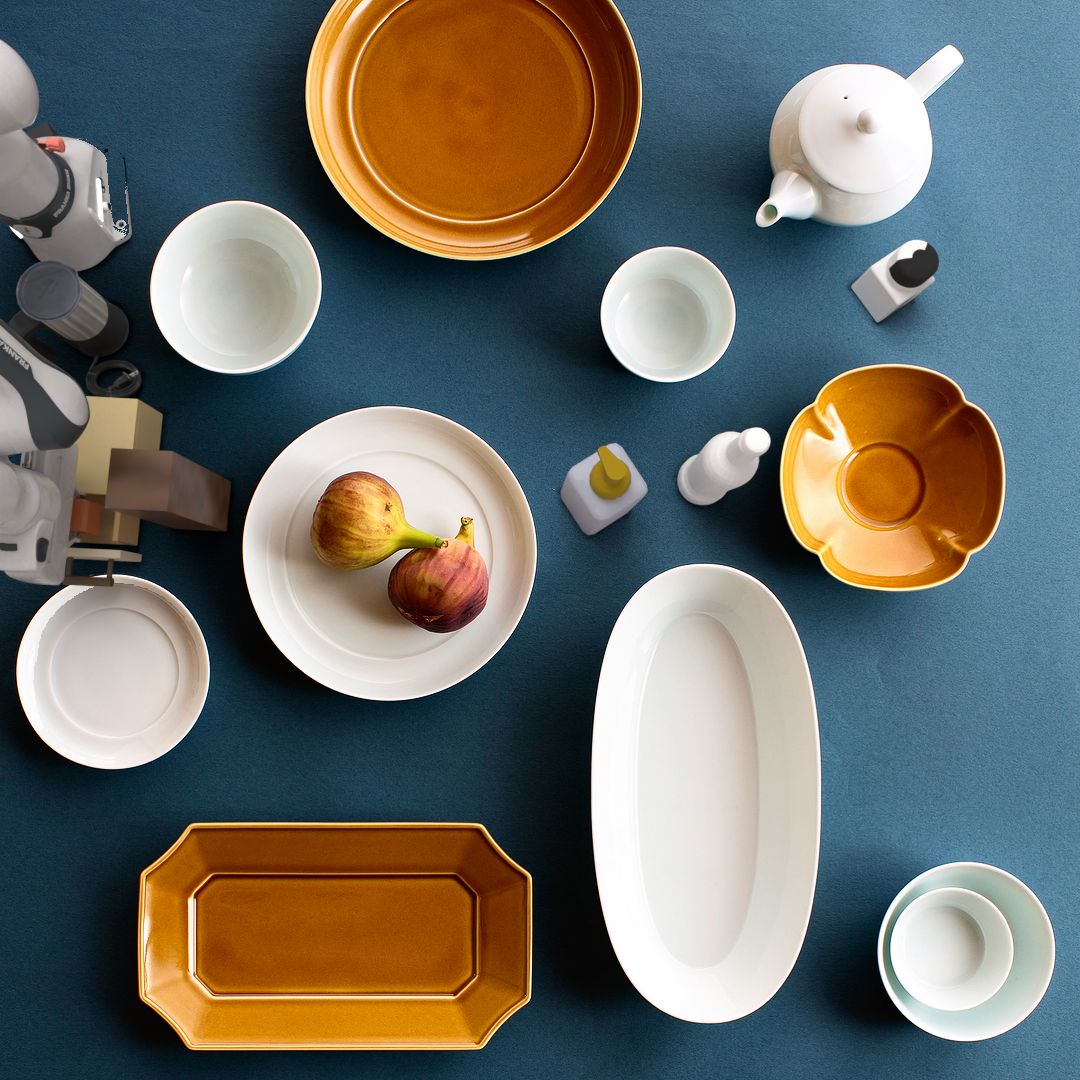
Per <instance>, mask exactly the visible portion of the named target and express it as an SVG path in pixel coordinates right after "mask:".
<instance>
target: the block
mask: <svg viewBox="0 0 1080 1080" xmlns="http://www.w3.org/2000/svg"><path fill="white" fill-rule="evenodd" d="M100 512H101V504H98V503H94V502H91V501H88V500H84V499H73V506H72V515H71V523H70V531H75V532H80V533H81V534H92V535H98V530H99V521H100Z"/></svg>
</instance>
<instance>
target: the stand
mask: <svg viewBox="0 0 1080 1080" xmlns="http://www.w3.org/2000/svg"><path fill="white" fill-rule="evenodd" d="M231 488H232V481H230V480H229V479H227V478H225V477H223V476H222V475H219V474H217V473H216V472H214V471H211V470H210V469H208V468H205V467H204V466H202V465H200V464H198V463H196V462H195V461H193V460H190V459H188V458H187V457H185V456H183V455H181V454H179V453H178V452H175V451H173V450H160V449H159V450H141V449H123V448H111V454H110V463H109V473H108V482H107V491H106V500H105V508H106V509H109V510H113V511H116V512H119V513H123V514H126V515H130V516H133V517H136V518H140V520H143V521H147V522H150V523H154V524H156V525H161V526H164V527H167V528H170V529H174V530H187V531H207V532H225V533H226V532H228V531H227V530H228V523H229V522H228V521H229V511H230V501H231V490H232V489H231Z"/></svg>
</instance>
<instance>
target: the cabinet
mask: <svg viewBox="0 0 1080 1080" xmlns="http://www.w3.org/2000/svg"><path fill="white" fill-rule="evenodd" d="M86 398H87V400H88V404H89V408H90V419H89V422H88V425H87V427H86V429H85V430H84V432H83V433H82V435H81V436H80V437H79V439H78V440H77V441H76V444H77V446H78V448H79V454H78V462H77V471H76V480H75V481H76V482H77V484H78V486H79V488H80V490H81V491H83V492H86V494H94V495H106V491H107V482H108V473H109V463H110V454H111V448H123V449H141V450H160V447H161V446H160V445H161V436H162V427H163V426H162V425H163V418H164V417H163V416H164V414H163V413H161V412H160V411H158V410H156V409H155V408H153V407H152V406H150V405H149V404H147V403H145V402H143V400H140V399H138V398H129V397H124V398H111V397H98V396H91V395H86Z"/></svg>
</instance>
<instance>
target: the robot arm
mask: <svg viewBox="0 0 1080 1080" xmlns="http://www.w3.org/2000/svg"><path fill="white" fill-rule="evenodd" d="M39 109H40V94H39V88H38V84H37V81H36V79H35V77H34V74H33V72H32V70H31V69H30V67H29V66H28V65H27V63H26V61H25V60H24V59H23V57H22V56H21V55H20V54H19V53H18V52H17V51H16V50H15V49H13V47H11V46H10V45H9V44H8V43H6V42H5V41H3V39H0V220H1V221H2V222H3V223H4V224H5V225H7V226H8V227H9V228H10V229H11V231H12V232H13V233H14V234H15V235H16V236H17V237H18V238H19V239H22V240H23V241H24V242H25V243H26V244H27V246H28V247H29V249H30V250H31V251H32V253H33V255H34V256H35V257H36V258H37V259H38V260H39V262H42V261H48V260H54V261H60V262H63V263H65V264H67V265H69V266H70V267H72V268H74V269H75V270H76V271H77V272H82V271H85V270H88V269H91V268H93V267H95V266H96V265H99V263H101V262H103V260H105V259H106V258H107V257H108V256H109V254H110V253H111V252H112V251H113V250H114V249H115V248H116V247H119V246H120V245H123V244H124V243H126V242H127V241H129V240H130V239H131V237H132V235H133V229H132V219H131V208H130V199H129V189H128V185H127V186H126V187H127V189H126V190H125V194H126V204H127V214H128V224H129V233H128V235H127V236H126V234H125V233H126V232H125V233H123V232H124V231H123V230H125V228H124V227H125V226H126V225H127V224H126V222H125V221H124V220H122V219H121V220H118V221H117V222H116V225H115V224H114V222H113V218H112V214H111V213H112V212H111V210H112V206H111V203H110V194H109V185H108V173H107V162H106V160H107V159H106V157H105V155H104V154H103V153H102V152H101V151H100V150H98V149H97V148H96V147H94V146H93V145H91V144H89V143H87V142H85V141H82V140H79V139H80V138H74V137H70V136H60V135H59V134H58V132H57V131H56V130H55V129H54V128H53V127H52V126H51V125H50V124H49V122H47V121H46V122H44V123H42V124H39V125H37V126H35V127H32V128H30V129H28V130H26V131H24V130H23V129H26V128H28V127H30V126H32V125H33V124H34V123H35V121H36V118H37V117H38V113H39ZM125 183H126V182H125ZM126 187H125V188H126ZM127 190H128V191H127ZM122 225H123V226H122ZM113 226H115V227H117V228H118V229H122V230H121V231H123V232H122V233H121V231H120V232H119V230H118V231H117V229H116V230H115V228H114V227H113ZM123 228H124V229H123ZM125 231H127V229H126V230H125ZM124 234H125V235H124ZM125 236H126V237H125ZM124 237H125V238H124ZM121 239H122V240H121ZM86 396H87V395H86V394H85V392H84V390H83V388H82V386H81V385H80V384H79V382H78V381H77V380H76V379H75V377H73V376H71V374H70V373H68V372H67V371H66V370H64V369H63V368H61V367H60V366H58V365H57V364H55V363H52V362H50V361H49V360H47V359H46V358H44V357H43V356H42V355H40V354H39V353H38V352H37V351H36V350H35V349H34V348H32V347H31V346H30V345H29V344H28V343H27V342H26V341H25V340H24V339H23V338H22V337H20V336H19V335H18V334H17V333H16V332H15V331H14V330H13V329H12V328H11V327H10V326H8V323H7V322H5V321H4V320H3V319H2V318H1V317H0V571H1V572H4V573H5V574H6V575H7V576H8V577H9V578H12V579H14V580H16V581H19V582H22V583H28V584H34V585H42V586H44V585H45V586H59V585H61V584H62V581H63V580H64V577H65V576H66V567H67V549H68V548H71V546H72V545H73V544H75V543H76V542H80V539H81V533H80V532H75V531H70V523H71V515H72V506H73V499H84V500H85V496H86V492H83V491H81V490H80V488H79V486H78V484H77V482H76V481H75V480H76V471H77V462H78V454H79V448H78V446H77V444H76V441H77V440H78V439H79V437H80V436H81V435H82V433H83V432H84V430H85V429H86V427H87V425H88V422H89V419H90V408H89V404H88V400H87V398H86ZM19 454H21V457H20V465H18V464H15V463H13V462H12V461H11V460H10V458H9V456H12V455H19Z"/></svg>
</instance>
